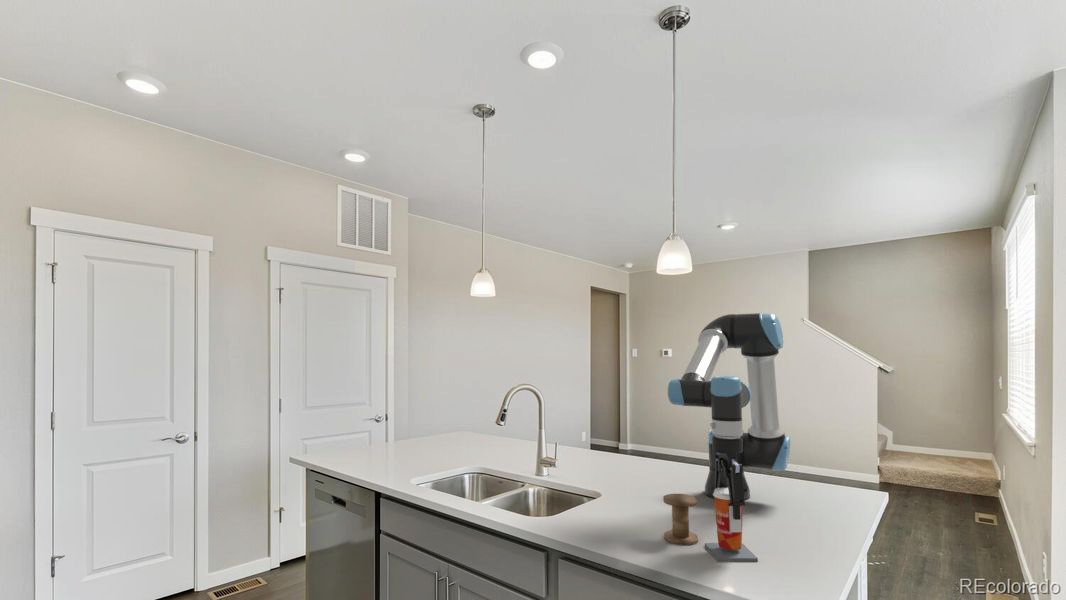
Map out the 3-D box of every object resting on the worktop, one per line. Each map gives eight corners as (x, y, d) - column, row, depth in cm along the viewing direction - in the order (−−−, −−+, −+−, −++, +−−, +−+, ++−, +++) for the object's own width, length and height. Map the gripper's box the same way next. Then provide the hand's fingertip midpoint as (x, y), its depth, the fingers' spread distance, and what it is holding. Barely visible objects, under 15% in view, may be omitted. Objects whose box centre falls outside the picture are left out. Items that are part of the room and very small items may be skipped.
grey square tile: (742, 546, 143) (742, 543, 143) (757, 561, 133) (757, 558, 133) (704, 546, 143) (704, 543, 143) (717, 561, 133) (717, 558, 133)
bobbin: (692, 533, 153) (691, 493, 153) (702, 545, 144) (701, 503, 144) (660, 533, 153) (660, 493, 153) (668, 545, 144) (667, 503, 144)
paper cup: (709, 541, 142) (707, 486, 143) (737, 540, 143) (735, 486, 144) (722, 552, 134) (720, 495, 135) (751, 551, 135) (750, 494, 136)
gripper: (700, 429, 151) (702, 513, 149) (726, 443, 130) (729, 540, 128) (727, 429, 151) (729, 513, 149) (757, 443, 130) (760, 540, 128)
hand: (729, 525), depth 139 cm, fingers closed on paper cup, 8 cm apart
